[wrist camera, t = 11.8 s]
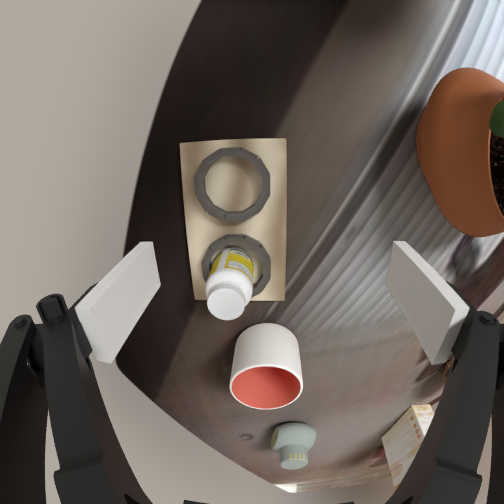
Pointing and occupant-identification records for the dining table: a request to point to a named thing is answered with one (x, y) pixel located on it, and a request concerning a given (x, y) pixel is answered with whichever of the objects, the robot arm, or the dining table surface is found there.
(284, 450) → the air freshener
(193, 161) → the caddy
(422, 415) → the coffeecake box
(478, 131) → the potted plant
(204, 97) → the dining table surface
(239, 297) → the supplement bottle
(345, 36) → the dining table surface
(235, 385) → the cup
